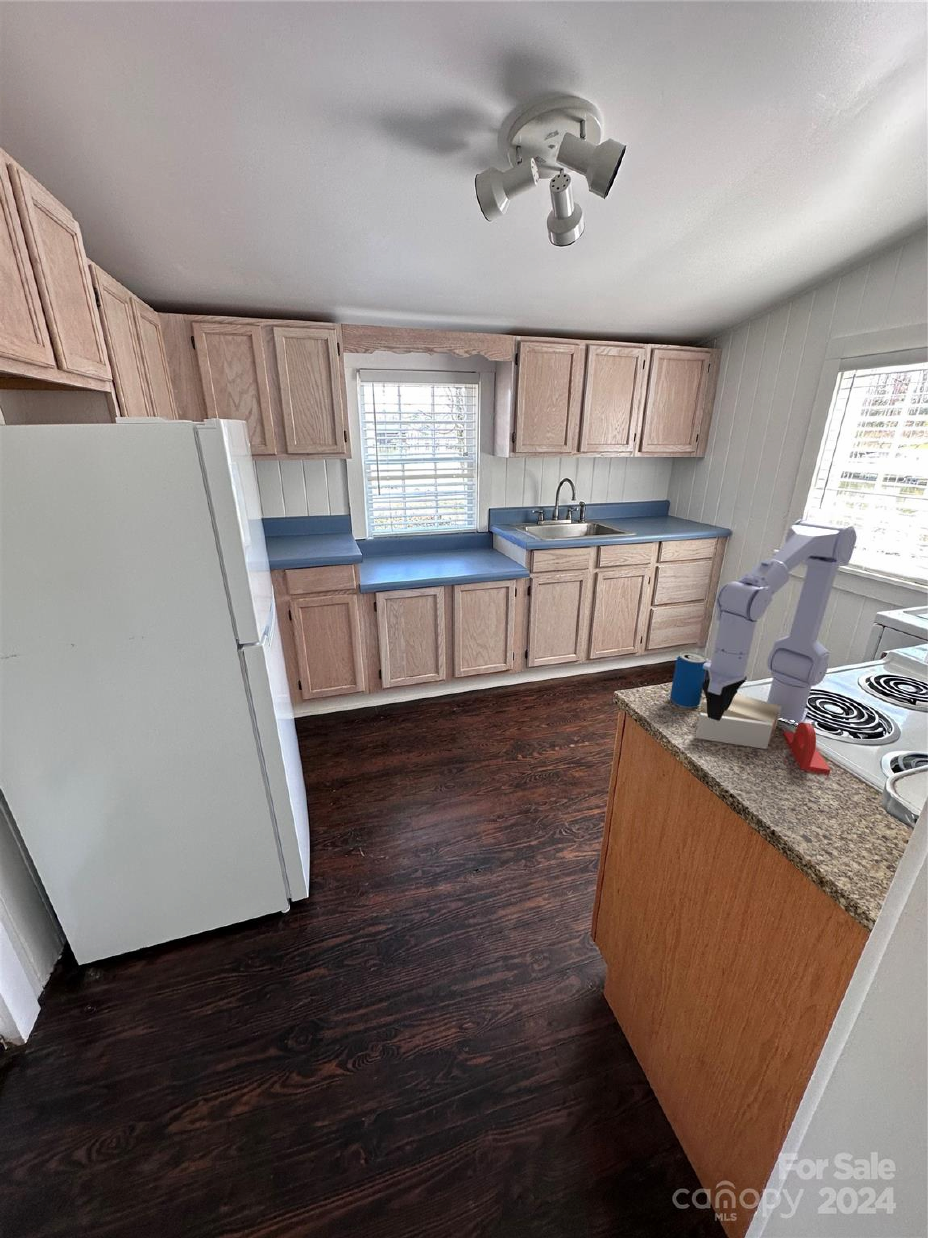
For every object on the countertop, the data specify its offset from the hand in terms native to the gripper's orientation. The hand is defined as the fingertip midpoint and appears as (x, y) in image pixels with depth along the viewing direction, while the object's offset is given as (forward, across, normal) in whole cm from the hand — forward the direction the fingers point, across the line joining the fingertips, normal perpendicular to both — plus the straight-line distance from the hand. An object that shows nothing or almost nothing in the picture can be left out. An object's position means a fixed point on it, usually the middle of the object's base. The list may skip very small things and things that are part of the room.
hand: (717, 713), depth 93 cm
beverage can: (+10, -18, -10) cm, 23 cm away
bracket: (+10, -13, +14) cm, 22 cm away
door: (+9, -7, +2) cm, 12 cm away
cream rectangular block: (+9, -15, +1) cm, 18 cm away
